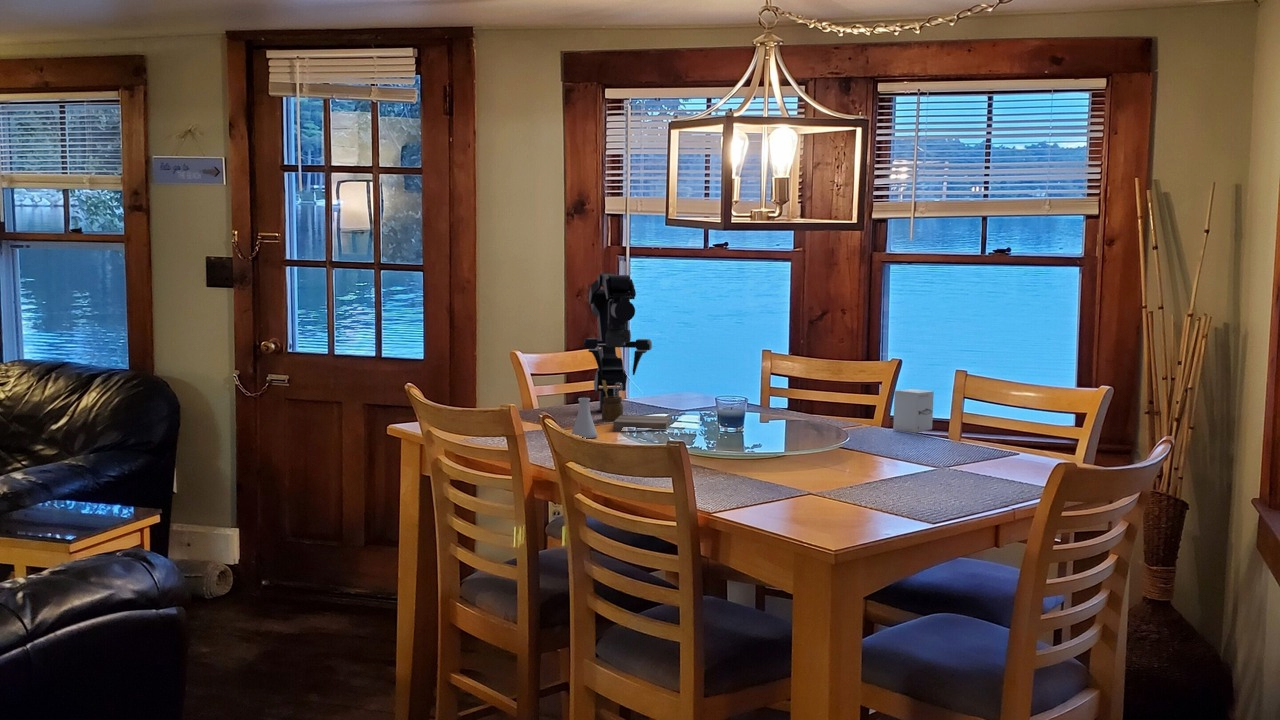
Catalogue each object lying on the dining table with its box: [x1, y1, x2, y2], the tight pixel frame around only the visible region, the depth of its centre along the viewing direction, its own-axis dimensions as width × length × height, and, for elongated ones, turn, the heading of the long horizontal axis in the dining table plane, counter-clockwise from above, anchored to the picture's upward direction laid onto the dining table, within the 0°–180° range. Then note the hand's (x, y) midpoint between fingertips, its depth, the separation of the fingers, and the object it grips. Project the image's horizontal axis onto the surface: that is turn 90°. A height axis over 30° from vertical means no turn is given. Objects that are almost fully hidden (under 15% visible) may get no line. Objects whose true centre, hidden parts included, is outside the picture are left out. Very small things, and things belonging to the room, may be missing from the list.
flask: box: [571, 397, 598, 439], centre depth 293 cm, size 7×7×10 cm
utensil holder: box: [601, 380, 624, 422], centre depth 321 cm, size 6×6×12 cm
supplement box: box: [892, 388, 934, 434], centre depth 296 cm, size 7×7×13 cm
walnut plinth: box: [612, 414, 672, 432], centre depth 310 cm, size 14×14×2 cm
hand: (617, 374), depth 324 cm, fingers open, 9 cm apart
